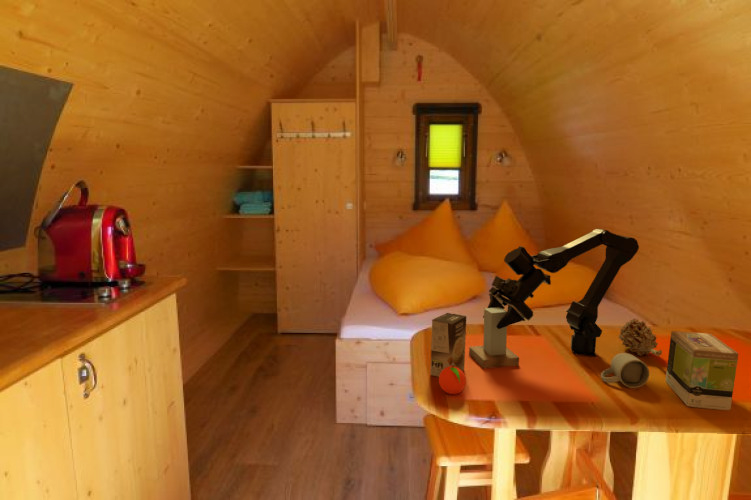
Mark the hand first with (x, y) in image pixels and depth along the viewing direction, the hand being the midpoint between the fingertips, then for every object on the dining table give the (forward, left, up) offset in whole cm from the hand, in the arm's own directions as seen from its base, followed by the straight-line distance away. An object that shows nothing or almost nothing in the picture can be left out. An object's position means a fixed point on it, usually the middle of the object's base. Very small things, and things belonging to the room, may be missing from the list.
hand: (490, 323), depth 148 cm
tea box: (-52, +9, -12) cm, 54 cm away
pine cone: (-45, -16, -12) cm, 49 cm away
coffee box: (+11, +12, -12) cm, 20 cm away
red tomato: (+8, +25, -12) cm, 29 cm away
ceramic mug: (-36, +6, -12) cm, 38 cm away
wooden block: (-2, -1, -9) cm, 9 cm away
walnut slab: (-1, -1, -12) cm, 12 cm away
